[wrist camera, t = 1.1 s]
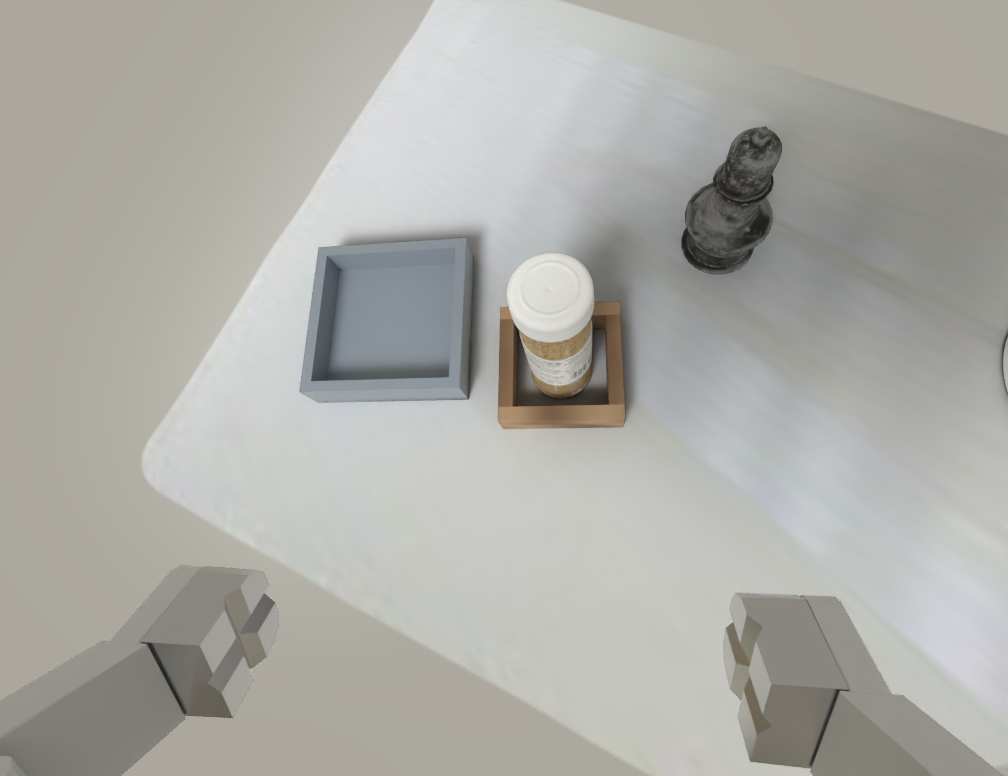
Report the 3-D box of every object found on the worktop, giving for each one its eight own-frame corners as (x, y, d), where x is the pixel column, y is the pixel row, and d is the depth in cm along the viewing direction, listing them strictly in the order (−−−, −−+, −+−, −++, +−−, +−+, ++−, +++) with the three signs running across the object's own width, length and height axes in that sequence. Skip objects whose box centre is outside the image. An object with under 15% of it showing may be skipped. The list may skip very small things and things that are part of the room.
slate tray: (473, 257, 44) (466, 237, 42) (468, 399, 41) (459, 387, 38) (335, 266, 46) (318, 247, 43) (318, 402, 43) (299, 391, 40)
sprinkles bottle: (566, 331, 41) (557, 232, 29) (605, 375, 40) (613, 292, 27) (518, 367, 41) (487, 284, 28) (555, 413, 40) (540, 347, 27)
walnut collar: (617, 315, 41) (619, 301, 39) (622, 427, 39) (625, 418, 36) (505, 320, 42) (500, 306, 40) (503, 428, 40) (497, 420, 38)
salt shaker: (672, 214, 43) (703, 92, 32) (750, 206, 42) (810, 78, 31) (682, 281, 41) (718, 177, 30) (764, 273, 40) (832, 164, 29)
